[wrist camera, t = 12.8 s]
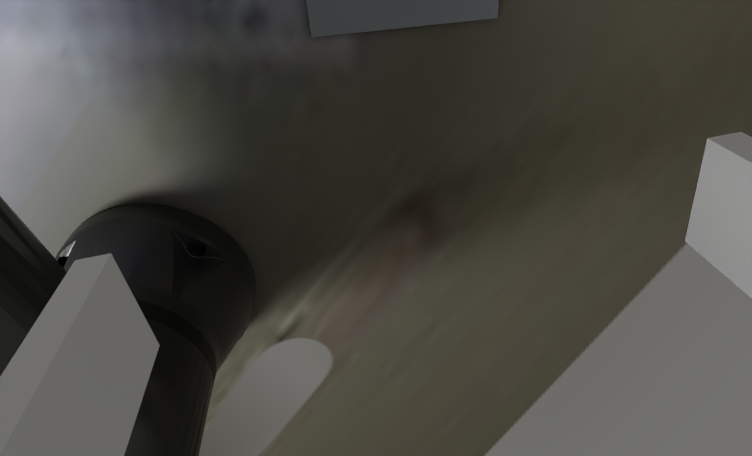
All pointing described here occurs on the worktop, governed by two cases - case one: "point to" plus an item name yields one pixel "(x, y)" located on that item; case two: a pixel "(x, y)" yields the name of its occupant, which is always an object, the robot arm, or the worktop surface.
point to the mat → (392, 14)
